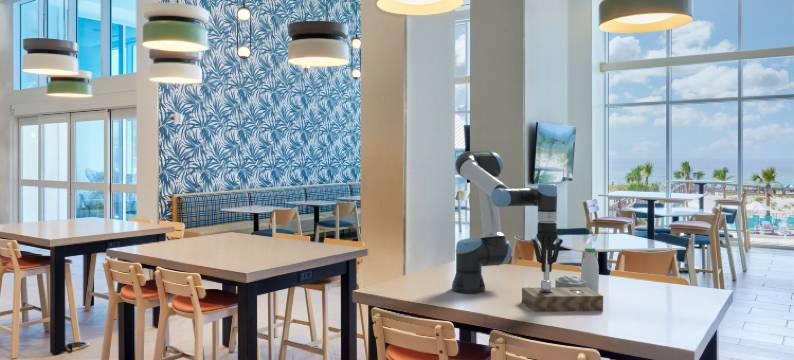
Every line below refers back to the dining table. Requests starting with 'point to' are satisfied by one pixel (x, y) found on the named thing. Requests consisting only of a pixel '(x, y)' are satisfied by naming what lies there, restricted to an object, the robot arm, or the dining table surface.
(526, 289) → the walnut block
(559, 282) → the lumpy-topped squat cylinder
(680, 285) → the dining table surface
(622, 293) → the dining table surface
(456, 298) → the dining table surface
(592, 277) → the milk bottle
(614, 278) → the dining table surface
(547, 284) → the steel peg
